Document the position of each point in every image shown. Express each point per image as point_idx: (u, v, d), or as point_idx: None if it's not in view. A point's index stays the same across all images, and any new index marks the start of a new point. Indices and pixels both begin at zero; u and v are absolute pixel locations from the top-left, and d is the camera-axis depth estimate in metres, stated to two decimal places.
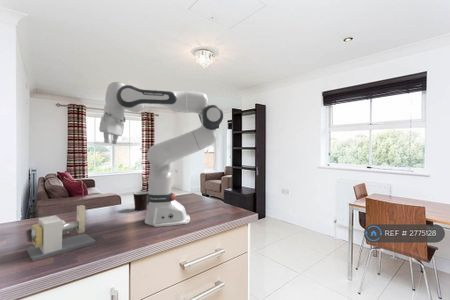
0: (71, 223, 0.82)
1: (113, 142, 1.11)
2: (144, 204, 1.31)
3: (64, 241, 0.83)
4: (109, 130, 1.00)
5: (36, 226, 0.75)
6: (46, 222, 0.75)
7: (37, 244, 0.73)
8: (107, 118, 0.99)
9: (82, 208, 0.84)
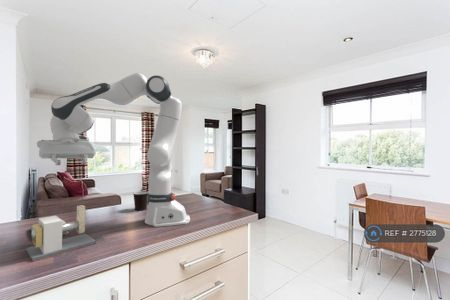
0: (71, 223, 0.82)
1: (82, 162, 0.97)
2: (144, 204, 1.31)
3: (64, 241, 0.83)
4: (48, 151, 0.89)
5: (36, 226, 0.75)
6: (46, 222, 0.75)
7: (37, 244, 0.73)
8: (41, 143, 0.91)
9: (82, 208, 0.84)
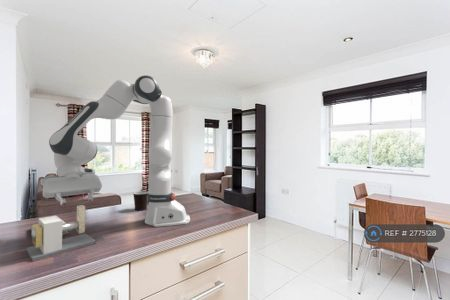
0: (71, 223, 0.82)
1: (88, 199, 0.91)
2: (144, 204, 1.31)
3: (64, 241, 0.83)
4: (52, 190, 0.84)
5: (36, 226, 0.75)
6: (46, 222, 0.75)
7: (37, 244, 0.73)
8: (44, 181, 0.86)
9: (82, 208, 0.84)
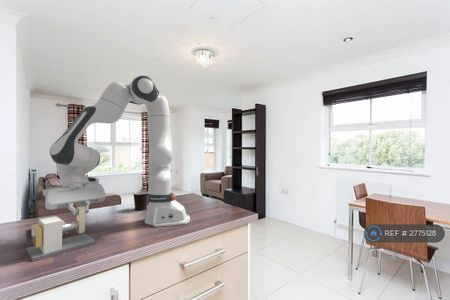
0: (71, 223, 0.82)
1: None
2: (144, 204, 1.31)
3: (64, 241, 0.83)
4: (55, 201, 0.81)
5: (36, 226, 0.75)
6: (46, 222, 0.75)
7: (37, 244, 0.73)
8: (47, 192, 0.82)
9: (82, 208, 0.84)
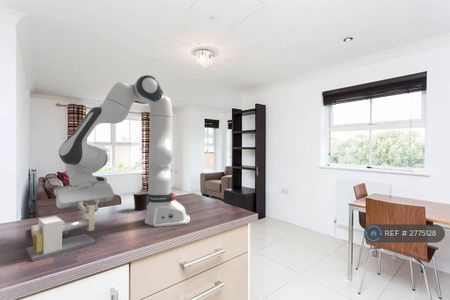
0: (81, 221, 0.85)
1: None
2: (144, 204, 1.31)
3: (64, 241, 0.83)
4: (66, 200, 0.83)
5: (37, 233, 0.75)
6: (46, 222, 0.75)
7: (38, 251, 0.73)
8: (58, 191, 0.85)
9: (92, 206, 0.87)
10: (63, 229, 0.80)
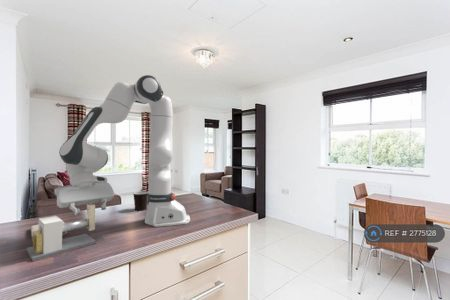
0: (82, 221, 0.85)
1: (101, 208, 0.91)
2: (144, 204, 1.31)
3: (64, 241, 0.83)
4: (66, 200, 0.84)
5: (37, 233, 0.75)
6: (46, 222, 0.75)
7: (38, 251, 0.73)
8: (58, 191, 0.85)
9: (92, 206, 0.87)
10: (64, 229, 0.80)
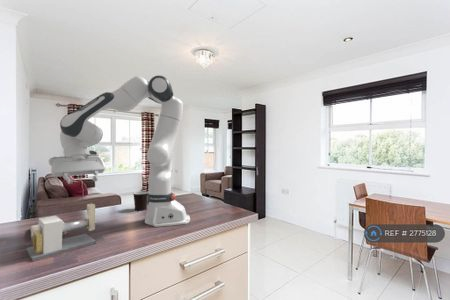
0: (82, 221, 0.85)
1: (93, 179, 0.99)
2: (144, 204, 1.31)
3: (64, 241, 0.83)
4: (60, 169, 0.90)
5: (37, 233, 0.75)
6: (46, 222, 0.75)
7: (38, 251, 0.73)
8: (53, 161, 0.92)
9: (92, 206, 0.87)
10: (64, 229, 0.80)
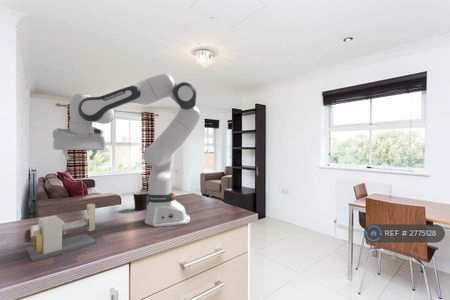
0: (82, 221, 0.85)
1: (90, 158, 1.04)
2: (144, 204, 1.31)
3: (64, 241, 0.83)
4: (61, 147, 0.94)
5: (37, 233, 0.75)
6: (46, 222, 0.75)
7: (38, 251, 0.73)
8: (56, 134, 0.94)
9: (92, 206, 0.87)
10: (64, 229, 0.80)
